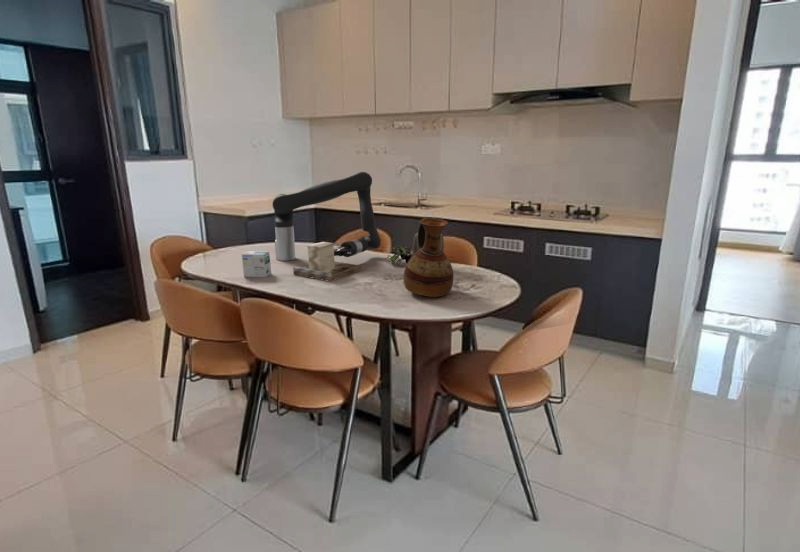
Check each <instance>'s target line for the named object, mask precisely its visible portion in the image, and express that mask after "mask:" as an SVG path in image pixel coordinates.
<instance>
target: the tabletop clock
mask: <svg viewBox="0 0 800 552" xmlns="http://www.w3.org/2000/svg"><path fill="white" fill-rule="evenodd" d="M426 218H432V217H429V216H427V217H424V218H422V219H421V220H423V219H426ZM412 239H413V240H412V245H411V246H412V247H411V254H413V255H414V254H415V253H416V252H417V251H418V249H419V247H418V232H415V234H414V236H413V238H412ZM444 241H445V240H444V236H443V233H441V236H440V242H439V243H440V250H441V251H442V252H443V253H444V248H445V242H444Z"/></svg>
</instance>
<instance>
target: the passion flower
mask: <svg viewBox="0 0 800 552" xmlns="http://www.w3.org/2000/svg"><path fill="white" fill-rule="evenodd" d="M393 250H394V254H393V255H390V254H388V255H387V257H386V258H387V259H388V262H391V264H395V263H396V260H397V266H396V267H398V266H399V265H400V263H402V261H404V260H405V263H406V264H407V263H408V261H409V260H410V258H411V257H412V256H413V254H412V249H411V248H410V247H407V246H400V245H399V246H398V248H396V247H393Z"/></svg>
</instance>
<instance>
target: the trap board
mask: <svg viewBox="0 0 800 552" xmlns="http://www.w3.org/2000/svg"><path fill="white" fill-rule="evenodd" d="M334 265H335V269H332V270H329V271H326V272H322V271H317V270H311V269H309V265H307V266H303V267H299V266H292V271H293V275H294V274H295V275H294V276H299V275H300V276H299V277H304V276H307V277H306V278H310V277H313V278H312V279H315V278H317V279H316V280H320V279H323V280H322V281H326V280H328V281H327V282H333V281H336V280H338V278H339V279H341V278H344V277H346V275H347V276H349V275H352V274H354V273H357V272H360V271H362V270H363V265H360V264H353V263H348V262H340V261H336V260H334ZM335 279H336V280H335ZM332 280H333V281H332Z"/></svg>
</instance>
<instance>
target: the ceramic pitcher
mask: <svg viewBox="0 0 800 552" xmlns="http://www.w3.org/2000/svg"><path fill="white" fill-rule="evenodd" d="M422 219H423V218H422ZM422 219H421V220H420V221H419V222H420V223H419V227H418V247H419V249H418V251H417V252H416V253H415V254H414V255H413V256H412V257H411V258H410V260H409V261H408V263H406V266H405V268H404V271H403V284H404V285H403V286H404V287H405V289H406V290H407V291H408V292H410V293H412V294H416V295H420V296H425V297H441V296H442V297H443V296H445V295H447V294H449V293H450V292H451V290H452V289H453V284H454V269H453V267H452V263H451V261H450V260H449V258H448V256H447V254H445V253H444V252H442V251H441V250H440V243H439V242H440V236H441V233H442V232H443V230H444V229H445V228H446V226H447V225H448V224H449V222H448V221H447V220H445V219H442V218H436V217H431V218H426V219H423V220H422ZM442 234H443V233H442Z"/></svg>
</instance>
